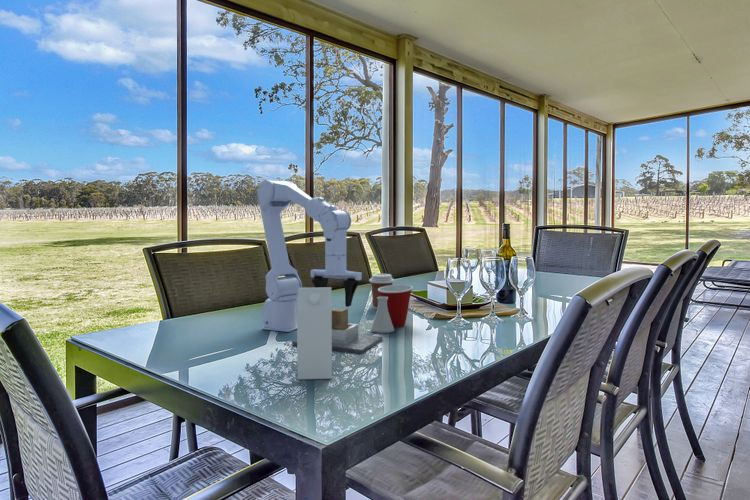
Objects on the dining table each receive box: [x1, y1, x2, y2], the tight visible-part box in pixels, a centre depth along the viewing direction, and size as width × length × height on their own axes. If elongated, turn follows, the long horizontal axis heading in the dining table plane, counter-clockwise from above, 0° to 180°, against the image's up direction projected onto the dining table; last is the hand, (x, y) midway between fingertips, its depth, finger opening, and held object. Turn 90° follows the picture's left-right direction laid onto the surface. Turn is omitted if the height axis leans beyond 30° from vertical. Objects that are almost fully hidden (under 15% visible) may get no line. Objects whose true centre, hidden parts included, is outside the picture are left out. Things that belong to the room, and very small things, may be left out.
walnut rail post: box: [332, 307, 349, 330], centre depth 134 cm, size 4×4×8 cm
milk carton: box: [296, 286, 333, 380], centre depth 108 cm, size 7×7×19 cm
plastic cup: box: [378, 284, 414, 328], centre depth 154 cm, size 11×11×12 cm
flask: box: [370, 297, 395, 334], centre depth 147 cm, size 7×7×10 cm
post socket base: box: [291, 322, 384, 355], centre depth 134 cm, size 20×14×4 cm
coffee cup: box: [368, 273, 395, 310], centre depth 182 cm, size 9×9×12 cm
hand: (335, 304), depth 136 cm, fingers open, 7 cm apart
